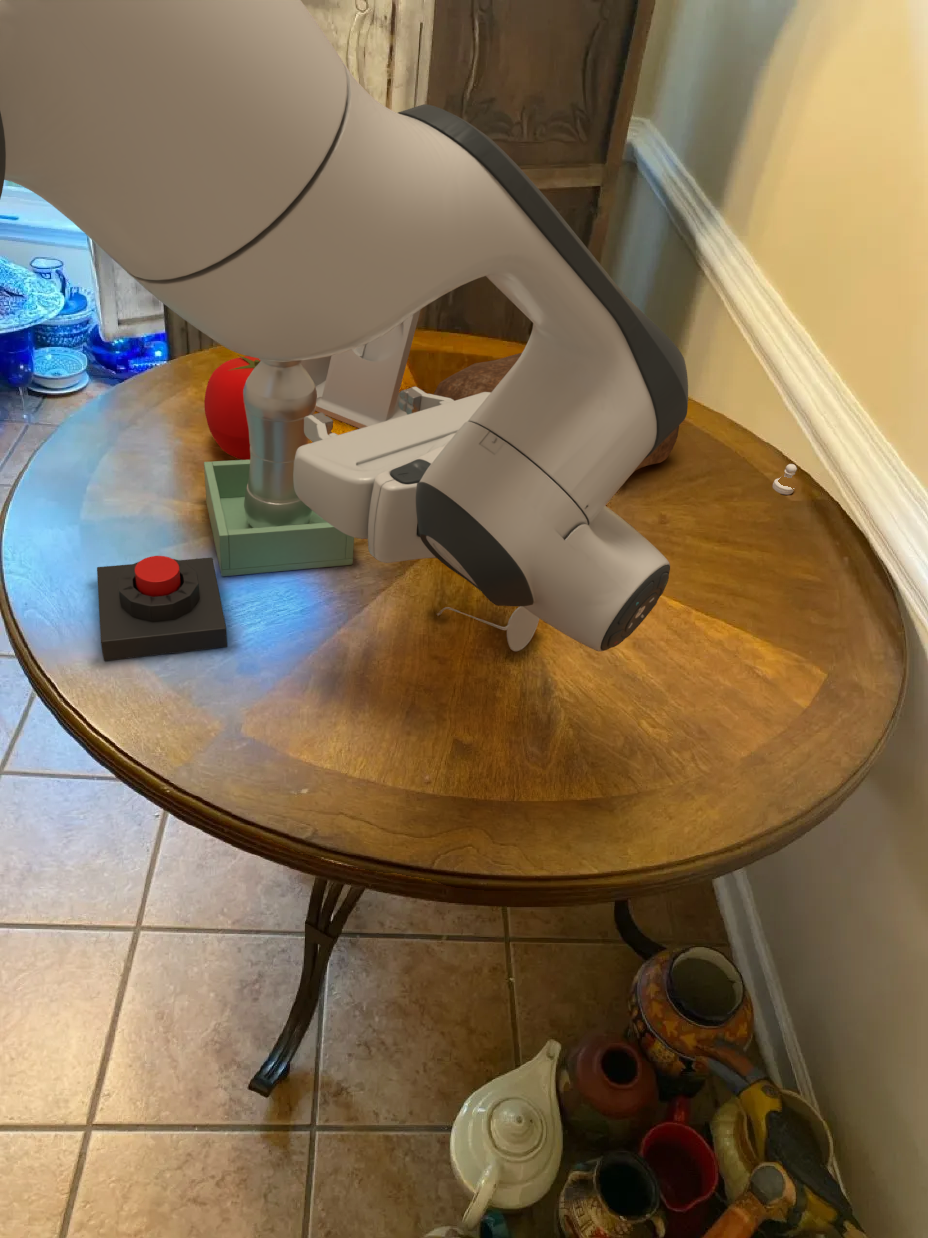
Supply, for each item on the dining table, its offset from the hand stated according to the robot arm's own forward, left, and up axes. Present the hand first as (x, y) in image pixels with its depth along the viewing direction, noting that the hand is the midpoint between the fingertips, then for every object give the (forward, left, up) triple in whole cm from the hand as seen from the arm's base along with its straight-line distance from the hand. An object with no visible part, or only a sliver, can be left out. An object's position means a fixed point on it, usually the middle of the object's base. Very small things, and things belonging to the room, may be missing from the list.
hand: (360, 408), depth 74 cm
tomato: (-5, +27, -20) cm, 34 cm away
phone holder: (+8, +38, -20) cm, 44 cm away
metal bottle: (-5, +11, -19) cm, 23 cm away
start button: (-17, 0, -16) cm, 23 cm away
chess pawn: (+57, +12, -20) cm, 62 cm away
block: (-17, 0, -20) cm, 26 cm away
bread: (+29, +21, -20) cm, 41 cm away
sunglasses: (+15, -4, -20) cm, 25 cm away
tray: (-5, +11, -20) cm, 23 cm away
